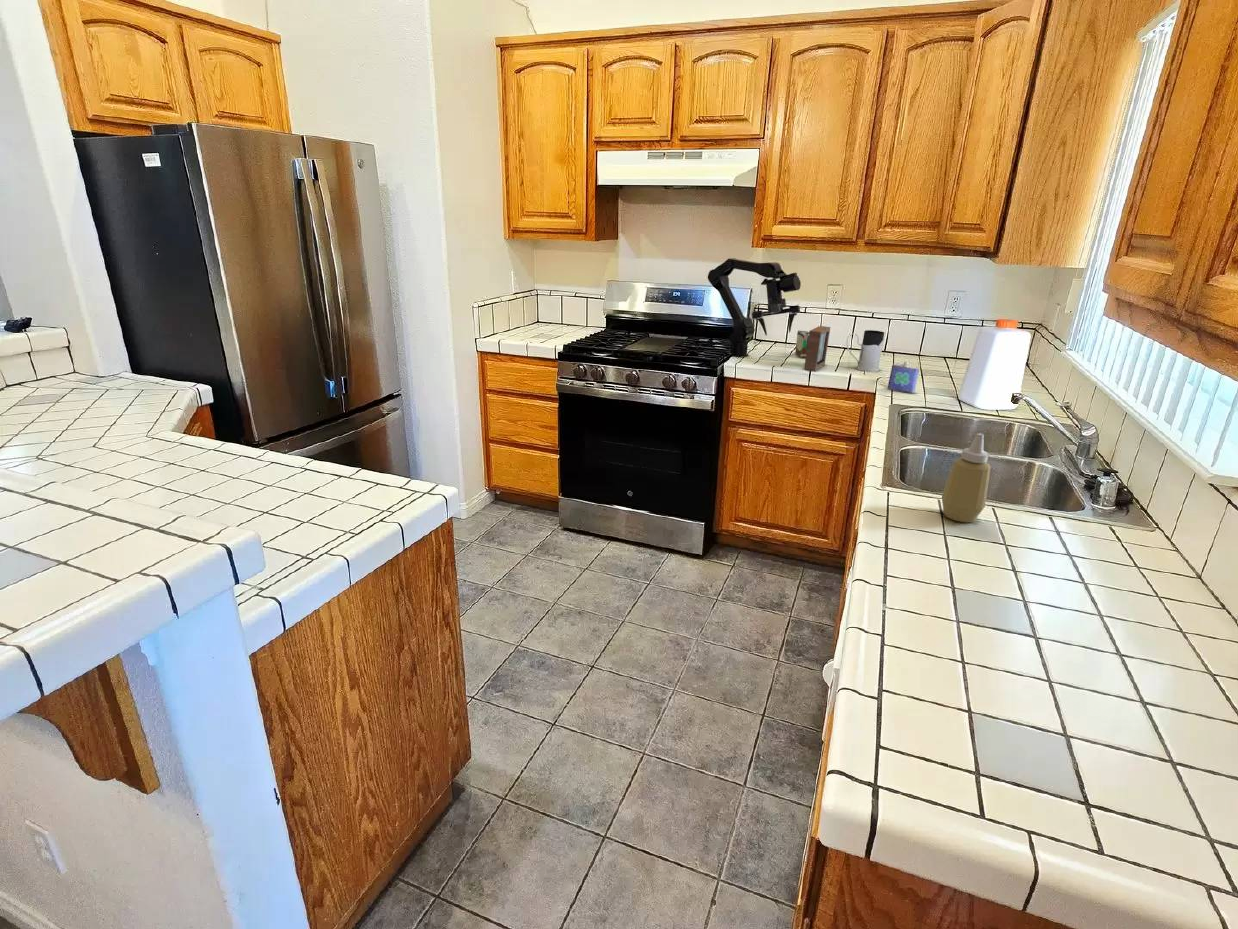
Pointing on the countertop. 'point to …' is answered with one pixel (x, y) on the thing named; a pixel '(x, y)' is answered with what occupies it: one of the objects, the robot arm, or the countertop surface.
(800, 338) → the food container
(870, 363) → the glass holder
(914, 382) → the flask
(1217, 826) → the countertop surface
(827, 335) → the window frame
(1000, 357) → the plastic bottle
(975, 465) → the squeeze bottle
